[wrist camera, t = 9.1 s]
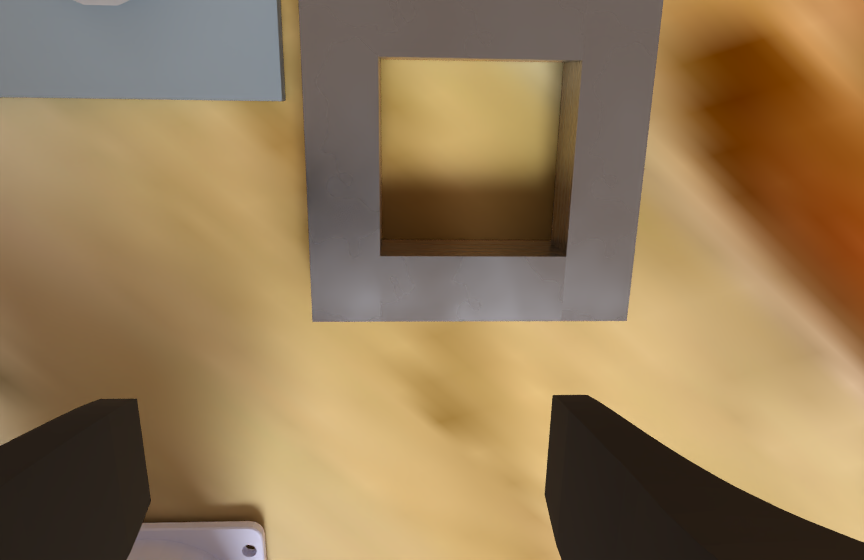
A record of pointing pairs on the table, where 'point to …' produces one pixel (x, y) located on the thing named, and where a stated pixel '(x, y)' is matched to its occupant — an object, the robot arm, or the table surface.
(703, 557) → the robot arm
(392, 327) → the table surface
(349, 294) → the square collar
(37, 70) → the mat
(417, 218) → the table surface
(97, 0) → the rook chess piece
